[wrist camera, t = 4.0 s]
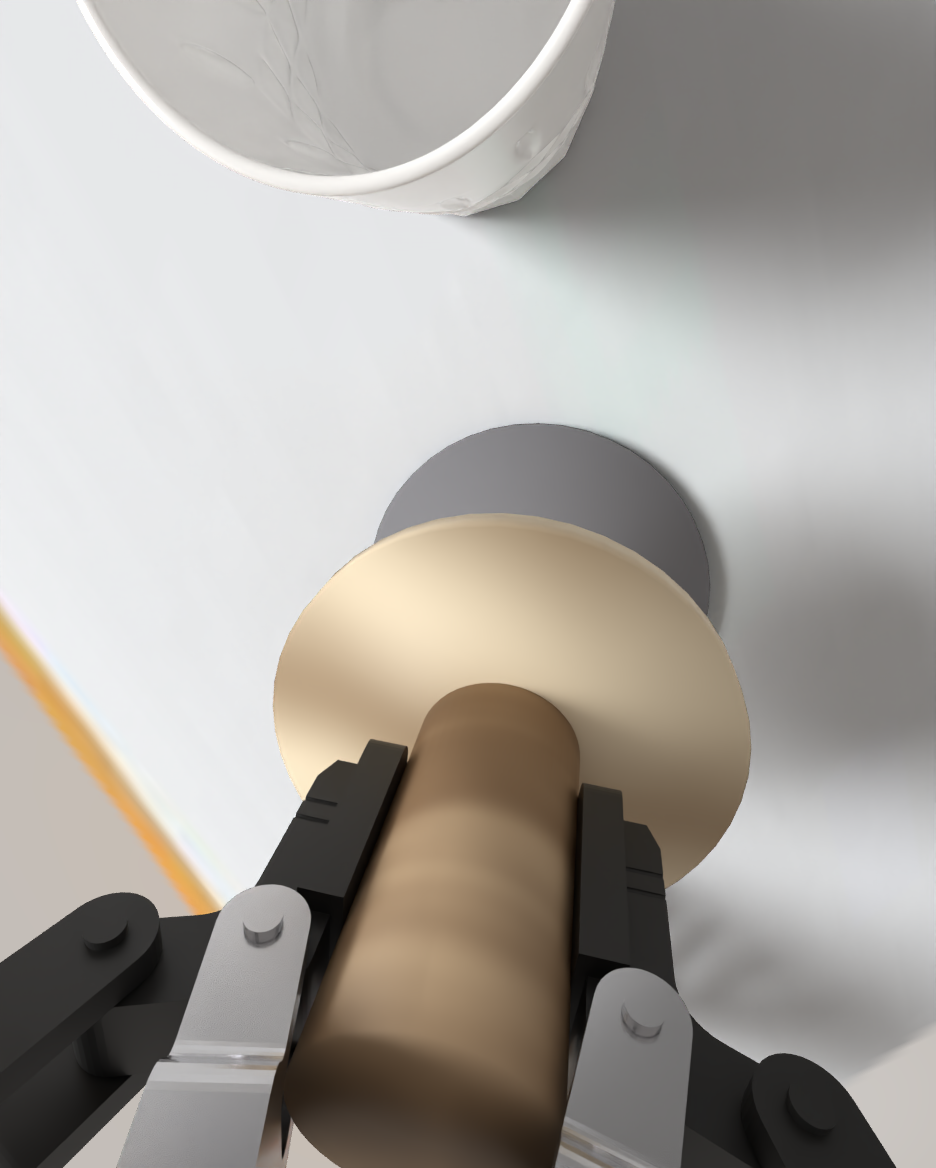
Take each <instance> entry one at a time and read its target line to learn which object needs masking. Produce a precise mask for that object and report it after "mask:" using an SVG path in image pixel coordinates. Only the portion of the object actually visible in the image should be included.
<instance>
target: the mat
mask: <svg viewBox="0 0 936 1168" xmlns="http://www.w3.org/2000/svg"><path fill="white" fill-rule="evenodd" d="M486 513H508V514H518V515H528V516H538V517H542V518H547V519H551V520H556V521H560V522H564V523H569V524H573V525H575V526H578V527H581V528H584V529H586V530H589V531H592V532H595V533H597V534H600V535H603V536H605V537H607V538H609V539H611V540H613V541H615V542H617V543H619V544H621V545H623V546H625V547H627V548H629V549H631V550H633V551H635V552H636V553H638V554H639V555H641V556H642V557H643V558H645V559H646V560H648V561H649V562H651V563H652V564H654V565H655V566H657V567H658V568H659V569H661V570H662V571H664V572H665V573H666V574H667V575H668V576H669V577H670V578H671V579H672V580H674V581H675V582H676V583H677V584H678V585H679V586H680V587H681V588H682V589H683V590H685V591H686V592H687V593H688V594H689V596H690V597H691V598H692V599H693V600H694V602H695V603H696V604H697V605H698V606H699V608H700V609H701V610H702V611H703V612H704V614H705V615H706V616H707V612H708V607H709V592H710V581H709V569H708V562H707V557H706V553H705V549H704V545H703V542H702V539H701V537H700V534H699V532H698V529H697V527H696V524H695V522H694V519H693V517H692V515H691V514H690V512H689V510H688V509H687V507H686V505H685V504H684V502H683V500H682V498H681V497H680V496H679V495H678V493H677V492H676V491H675V490H674V488H673V487H672V486H671V485H670V483H669V482H668V481H667V480H666V479H665V478H664V477H663V476H662V475H661V474H660V473H659V472H658V471H657V470H656V469H655V468H654V467H653V466H651V465H650V464H649V463H648V462H646V461H645V460H644V459H642V458H641V457H639V456H638V455H637V454H635V453H634V452H632V451H631V450H629V449H627V448H625V447H623V446H622V445H620V444H618V443H616V442H614V441H612V440H610V439H608V438H605V437H602V436H600V435H597V434H594V433H591V432H589V431H586V430H581V429H576V428H572V427H567V426H563V425H552V424H540V423H536V424H515V425H509V426H504V427H498V428H493V429H489V430H486V431H483V432H480V433H477V434H474V435H471V436H468V437H466V438H464V439H462V440H460V441H458V442H456V443H454V444H452V445H450V446H448V447H446V448H445V449H443V450H442V451H440V452H439V453H437V454H436V455H434V456H433V457H431V458H430V459H429V460H428V461H427V462H426V463H424V464H423V465H422V466H421V467H420V468H419V469H418V470H417V471H416V472H414V473H413V474H412V475H411V477H410V478H409V479H408V480H407V481H406V482H405V484H404V485H403V486H402V487H401V488H400V490H399V491H398V492H397V494H396V495H395V497H394V498H393V500H392V502H391V503H390V505H389V506H388V508H387V510H386V512H385V514H384V517H383V519H382V521H381V523H380V526H379V528H378V531H377V535H376V539H375V542H374V544H375V543H376V542H378V541H379V540H381V539H384V538H386V537H388V536H390V535H393V534H395V533H397V532H399V531H401V530H404V529H406V528H408V527H412V526H415V525H419V524H422V523H426V522H429V521H432V520H436V519H440V518H447V517H453V516H460V515H466V514H486Z"/></svg>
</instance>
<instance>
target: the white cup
mask: <svg viewBox="0 0 936 1168" xmlns="http://www.w3.org/2000/svg"><path fill="white" fill-rule="evenodd" d="M76 1H77V3H78V6H79V7H80V9H81V11H82V13H83V15H84V17H85V19H86V21H87V23H88V24H89V26H90V28H91V30H92V31H93V33H94V35H95V37H96V38H97V40H98V42H99V43H100V45H101V46H102V48H103V49H104V51H105V53H106V54H107V56H108V57H109V59H110V60H111V61H112V63H113V64H114V66H115V67H116V69H117V70H118V71H119V73H120V74H121V75H122V77H123V78H124V79H125V81H126V82H127V83H128V84H129V86H130V87H131V88H132V89H133V90H134V92H135V93H136V94H137V95H138V96H139V97H140V99H141V100H142V101H143V102H144V103H145V104H146V105H147V106H148V107H149V108H150V109H151V110H152V111H153V112H154V113H155V114H156V115H157V116H158V117H159V118H160V119H161V120H162V121H163V122H164V123H165V124H166V125H167V126H168V127H169V128H170V129H171V130H173V131H174V132H175V133H176V134H177V135H179V136H180V137H181V138H182V139H183V140H185V141H186V142H187V143H189V144H190V145H191V146H193V147H194V148H195V149H197V150H198V151H200V152H201V153H203V154H204V155H206V156H207V157H209V158H210V159H212V160H214V161H215V162H217V163H219V164H220V165H222V166H224V167H226V168H228V169H230V170H232V171H234V172H236V173H238V174H240V175H242V176H244V177H247V178H249V179H251V180H254V181H257V182H259V183H262V184H265V185H268V186H271V187H275V188H278V189H282V190H286V191H291V192H296V193H302V194H307V195H313V196H318V197H323V198H328V199H333V200H339V201H345V202H350V203H355V204H360V205H363V206H367V207H371V208H376V209H381V210H388V211H398V212H410V213H419V214H429V215H441V214H454V215H458V216H468V215H471V214H475V213H478V212H481V211H485V210H488V209H491V208H495V207H498V206H501V205H505V204H508V203H511V202H515V201H518V200H519V199H521V198H522V197H523V196H524V195H525V194H526V193H527V192H528V191H529V190H530V189H531V188H532V187H533V186H534V185H535V184H536V183H538V182H539V181H540V180H541V179H542V178H543V177H544V176H545V175H546V174H547V173H548V172H549V171H550V170H551V169H552V168H553V167H554V166H556V165H557V164H558V163H559V162H560V161H561V160H562V159H563V158H564V157H565V156H566V153H567V151H568V149H569V147H570V144H571V142H572V140H573V138H574V135H575V133H576V131H577V128H578V126H579V124H580V122H581V119H582V117H583V115H584V113H585V110H586V108H587V106H588V104H589V101H590V99H591V97H592V95H593V92H594V89H595V82H596V78H597V75H598V72H599V69H600V65H601V62H602V58H603V55H604V51H605V46H606V41H607V36H608V32H609V28H610V24H611V19H612V15H613V10H614V5H615V0H76Z"/></svg>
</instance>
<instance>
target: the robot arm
mask: <svg viewBox="0 0 936 1168" xmlns="http://www.w3.org/2000/svg"><path fill="white" fill-rule="evenodd" d="M407 760H408V747H407V746H404V745H400V744H395V743H390V742H385V741H380V740H375V739H370V740H369V741H368V743H367V745H366V747H365V749H364V751H363V753H362V755H361V757H360V759H359V761H358V763H357V764H356V763H351V762H346V761H341V760H337V761H336V762H334V763H333V764H332V765H330V766H329V767H328V768H327V769H325V770H324V771H323V772H321V773H320V774H319V775H317V777H316V779H315V781H314V783H313V784H312V786H311V788H310V790H309V791H308V793H307V795H306V798H305V800H303V802H302V804H301V806H300V808H299V809H298V811H297V813H296V817H295V818H293V820H292V822H291V824H290V825H289V827H288V829H287V831H286V833H285V834H284V836H283V838H282V840H281V842H280V843H279V845H278V847H277V849H276V850H275V852H274V854H273V856H272V858H271V859H270V861H269V863H268V865H267V867H266V868H265V870H264V872H263V874H262V876H261V877H260V879H259V881H258V882H257V884H256V885H255V887H253V888H250V889H247V890H245V891H243V892H241V893H240V894H238V895H236V896H235V897H234V898H232V899H231V900H230V901H229V902H228V903H227V904H226V905H225V906H224V907H223V909H222V910H220V911H217V912H214V913H210V914H204V915H194V916H181V917H168V918H159V915H158V911H157V909H156V907H155V906H154V904H153V903H152V902H151V901H150V900H148V899H147V898H145V897H143V896H141V895H138V894H134V893H112V894H108V895H104V896H101V897H98V898H96V899H93V900H91V901H89V902H87V903H85V904H84V905H82V906H80V907H79V908H77V909H76V910H74V911H73V912H72V913H70V914H69V915H67V916H66V917H65V918H63V919H62V920H60V921H59V922H57V923H56V924H55V925H53V926H52V927H50V928H49V929H48V930H46V931H45V932H43V933H42V934H41V935H39V936H38V937H36V938H35V939H33V940H32V941H30V942H29V943H28V944H26V945H25V946H23V947H22V948H21V949H19V950H18V951H16V952H15V953H14V954H12V955H11V956H9V957H8V958H7V959H5V960H4V961H2V962H1V963H0V1168H63V1167H64V1166H65V1165H66V1164H67V1163H68V1162H69V1161H70V1160H71V1159H72V1158H73V1157H74V1156H75V1155H76V1154H77V1153H78V1152H79V1151H80V1150H81V1149H82V1148H83V1147H84V1146H85V1145H86V1144H87V1143H88V1142H89V1141H90V1140H91V1139H92V1138H93V1137H94V1136H95V1135H96V1134H97V1133H98V1132H99V1131H100V1130H101V1129H102V1128H103V1127H104V1126H105V1125H106V1124H107V1123H108V1122H109V1121H110V1120H111V1119H112V1118H113V1117H114V1116H115V1115H116V1114H117V1113H118V1112H119V1111H120V1110H121V1109H122V1108H123V1107H124V1106H125V1105H126V1104H127V1103H128V1102H129V1101H130V1100H131V1099H132V1098H133V1097H134V1096H135V1095H136V1094H137V1093H138V1092H139V1091H140V1090H141V1089H142V1088H143V1087H144V1086H145V1085H146V1086H145V1089H144V1092H143V1094H142V1097H141V1100H140V1102H139V1105H138V1108H137V1111H136V1114H135V1117H134V1119H133V1122H132V1125H131V1128H130V1131H129V1133H128V1136H127V1139H126V1142H125V1144H124V1147H123V1150H122V1153H121V1156H120V1158H119V1161H118V1164H117V1167H116V1168H286V1164H287V1158H288V1152H289V1146H290V1140H291V1135H292V1129H293V1124H294V1122H293V1120H292V1118H291V1116H290V1114H289V1112H288V1109H287V1106H286V1103H285V1100H284V1092H283V1088H284V1081H285V1075H286V1071H287V1068H288V1066H289V1063H290V1061H291V1058H292V1056H293V1053H294V1051H295V1048H296V1045H297V1043H298V1040H299V1038H300V1035H301V1033H302V1030H303V1028H304V1025H305V1022H306V1020H307V1017H308V1015H309V1012H310V1010H311V1007H312V1005H313V1002H314V1000H315V997H316V994H317V992H318V989H319V987H320V984H321V982H322V979H323V977H324V974H325V971H326V969H327V966H328V964H329V961H330V959H331V956H332V954H333V951H334V948H335V946H336V943H337V941H338V938H339V936H340V933H341V931H342V928H343V926H344V923H345V921H346V918H347V916H348V913H349V911H350V908H351V905H352V903H353V900H354V898H355V895H356V893H357V890H358V888H359V885H360V882H361V880H362V877H363V875H364V872H365V870H366V867H367V865H368V862H369V859H370V857H371V854H372V852H373V849H374V847H375V844H376V841H377V839H378V836H379V834H380V831H381V829H382V826H383V824H384V821H385V818H386V816H387V813H388V811H389V808H390V806H391V803H392V801H393V798H394V795H395V793H396V790H397V788H398V785H399V783H400V780H401V778H402V775H403V772H404V770H405V767H406V765H407ZM570 986H571V1007H570V1033H569V1059H568V1085H567V1104H566V1108H565V1112H564V1116H563V1121H562V1125H561V1129H560V1133H559V1137H558V1141H557V1145H556V1149H555V1153H554V1157H553V1161H552V1165H551V1168H896V1166H895V1165H894V1163H893V1162H892V1160H891V1159H890V1157H889V1155H888V1154H887V1152H886V1151H885V1149H884V1147H883V1146H882V1144H881V1143H880V1141H879V1140H878V1138H877V1136H876V1135H875V1133H874V1132H873V1130H872V1128H871V1127H870V1125H869V1124H868V1122H867V1121H866V1119H865V1117H864V1116H863V1114H862V1113H861V1111H860V1110H859V1108H858V1106H857V1105H856V1103H855V1102H854V1100H853V1099H852V1097H851V1096H850V1095H849V1093H848V1092H847V1091H846V1089H845V1088H844V1087H843V1086H842V1085H841V1084H840V1083H839V1082H838V1081H837V1080H836V1079H835V1078H834V1077H833V1076H832V1075H831V1074H830V1073H828V1072H827V1071H826V1070H824V1069H823V1068H822V1067H820V1066H819V1065H817V1064H815V1063H814V1062H812V1061H810V1060H808V1059H805V1058H803V1057H800V1056H797V1055H793V1054H785V1053H782V1054H774V1055H771V1056H768V1057H767V1058H765V1059H763V1060H762V1061H761V1062H760V1064H759V1063H757V1062H755V1061H754V1060H752V1059H750V1058H748V1057H747V1056H745V1055H743V1054H741V1053H740V1052H738V1051H736V1050H734V1049H733V1048H731V1047H729V1046H727V1045H726V1044H724V1043H722V1042H721V1041H719V1040H717V1039H716V1038H714V1037H713V1036H712V1035H710V1034H709V1033H708V1032H707V1031H705V1030H704V1029H703V1028H702V1027H701V1026H700V1025H699V1024H698V1023H697V1022H696V1021H695V1019H694V1018H693V1017H692V1016H691V1015H690V1013H689V1011H688V1009H687V1007H686V1005H685V1003H684V1002H683V1000H682V999H681V997H680V996H679V993H678V990H677V988H676V983H675V978H674V969H673V960H672V950H671V941H670V932H669V922H668V913H667V904H666V900H665V885H664V879H663V867H662V857H661V849H660V847H659V846H658V844H657V842H656V840H655V839H654V837H653V835H652V833H651V832H650V830H649V828H648V827H647V825H644V824H639V823H634V822H629V821H625V820H624V818H623V797H622V791H621V790H616V789H611V788H607V787H602V786H597V785H592V784H587V783H582V784H581V787H580V791H579V795H578V804H577V829H576V854H575V879H574V904H573V930H572V955H571V980H570Z"/></svg>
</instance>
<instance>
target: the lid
mask: <svg viewBox="0 0 936 1168" xmlns="http://www.w3.org/2000/svg"><path fill="white" fill-rule="evenodd" d="M273 712H274V723H275V732H276V736H277V740H278V744H279V749H280V753H281V756H282V759H283V761H284V764H285V766H286V769H287V772H288V774H289V777H290V779H291V781H292V782H293V784H294V786H295V788H296V790H297V792H298V794H299V795H300V797H301V799H302V801H303V800H305V798H306V795H307V793H308V791H309V790H310V788H311V786H312V784H313V783H314V781H315V779H316V777H317V775H319V774H320V773H321V772H323V771H324V770H325V769H327V768H328V767H329V766H330V765H332V764H333V763H334V762H336V761H337V760H341V761H346V762H351V763H356V764H357V763H358V761H359V759H360V757H361V755H362V753H363V751H364V749H365V747H366V745H367V743H368V741H369V740H370V739H375V740H380V741H385V742H390V743H395V744H400V745H404V746H407V747H408V760H407V765H406V767H405V770H404V772H403V775H402V778H401V780H400V783H399V785H398V788H397V790H396V793H395V795H394V798H393V801H392V803H391V806H390V808H389V811H388V813H387V816H386V818H385V821H384V824H383V826H382V829H381V831H380V834H379V836H378V839H377V841H376V844H375V847H374V849H373V852H372V854H371V857H370V859H369V862H368V865H367V867H366V870H365V872H364V875H363V877H362V880H361V882H360V885H359V888H358V890H357V893H356V895H355V898H354V900H353V903H352V905H351V908H350V911H349V913H348V916H347V918H346V921H345V923H344V926H343V928H342V931H341V933H340V936H339V938H338V941H337V943H336V946H335V948H334V951H333V954H332V956H331V959H330V961H329V964H328V966H327V969H326V971H325V974H324V977H323V979H322V982H321V984H320V987H319V989H318V992H317V994H316V997H315V1000H314V1002H313V1005H312V1007H311V1010H310V1012H309V1015H308V1017H307V1020H306V1022H305V1025H304V1028H303V1030H302V1033H301V1035H300V1038H299V1040H298V1043H297V1045H296V1048H295V1051H294V1053H293V1056H292V1058H291V1061H290V1063H289V1066H288V1068H287V1071H286V1075H285V1081H284V1088H283V1092H284V1100H285V1103H286V1106H287V1109H288V1112H289V1114H290V1116H291V1118H292V1120H293V1122H294V1123H295V1125H296V1126H297V1127H298V1129H299V1130H300V1132H301V1133H302V1134H303V1135H304V1136H305V1138H306V1139H307V1140H308V1141H309V1142H310V1143H311V1144H312V1145H313V1146H314V1147H315V1148H316V1149H317V1150H318V1151H319V1152H320V1153H322V1154H323V1155H324V1156H325V1157H327V1158H328V1159H329V1160H330V1161H332V1162H333V1163H335V1164H336V1165H338V1166H339V1167H341V1168H551V1165H552V1161H553V1157H554V1153H555V1149H556V1145H557V1141H558V1137H559V1133H560V1129H561V1125H562V1121H563V1116H564V1112H565V1108H566V1104H567V1085H568V1059H569V1033H570V1007H571V986H570V980H571V955H572V930H573V904H574V879H575V854H576V829H577V804H578V795H579V791H580V787H581V784H582V783H587V784H592V785H597V786H602V787H607V788H611V789H616V790H621V791H622V797H623V818H624V820H625V821H629V822H634V823H639V824H644V825H647V827H648V828H649V830H650V832H651V833H652V835H653V837H654V839H655V840H656V842H657V844H658V846H659V847H660V849H661V857H662V867H663V879H664V885H665V889H666V888H668V887H669V886H671V885H673V884H674V883H676V882H678V881H679V880H680V879H681V878H683V877H684V876H685V875H686V874H687V873H689V872H690V871H691V870H692V869H694V868H695V867H696V866H697V865H698V864H699V863H700V862H701V861H702V860H703V859H704V858H705V857H706V856H707V855H708V854H709V853H710V852H711V851H712V849H713V848H714V847H715V846H716V845H717V843H718V842H719V840H720V839H721V838H722V836H723V835H724V833H725V832H726V830H727V829H728V827H729V826H730V824H731V822H732V820H733V818H734V816H735V814H736V811H737V809H738V807H739V805H740V803H741V800H742V797H743V793H744V790H745V786H746V783H747V779H748V775H749V765H750V756H751V739H750V724H749V718H748V713H747V709H746V705H745V701H744V697H743V693H742V690H741V687H740V684H739V681H738V678H737V675H736V672H735V670H734V667H733V665H732V662H731V660H730V658H729V655H728V653H727V650H726V648H725V646H724V643H723V642H722V640H721V638H720V637H719V635H718V633H717V632H716V630H715V629H714V627H713V625H712V624H711V622H710V620H709V619H708V617H707V616H706V615H705V614H704V612H703V611H702V610H701V609H700V608H699V606H698V605H697V604H696V603H695V602H694V600H693V599H692V598H691V597H690V596H689V594H688V593H687V592H686V591H685V590H683V589H682V588H681V587H680V586H679V585H678V584H677V583H676V582H675V581H674V580H672V579H671V578H670V577H669V576H668V575H667V574H666V573H665V572H664V571H662V570H661V569H659V568H658V567H657V566H655V565H654V564H652V563H651V562H649V561H648V560H646V559H645V558H643V557H642V556H641V555H639V554H638V553H636V552H635V551H633V550H631V549H629V548H627V547H625V546H623V545H621V544H619V543H617V542H615V541H613V540H611V539H609V538H607V537H605V536H603V535H600V534H597V533H595V532H592V531H589V530H586V529H584V528H581V527H578V526H575V525H573V524H569V523H564V522H560V521H556V520H551V519H547V518H542V517H538V516H528V515H518V514H508V513H486V514H466V515H460V516H453V517H447V518H440V519H436V520H432V521H429V522H426V523H422V524H419V525H415V526H412V527H408V528H406V529H404V530H401V531H399V532H397V533H395V534H393V535H390V536H388V537H386V538H384V539H381V540H379V541H378V542H376V543H375V544H373V545H372V546H370V547H368V548H367V549H365V550H364V551H362V552H361V553H359V554H357V555H356V556H355V557H353V558H352V559H351V560H350V561H349V562H348V563H347V564H345V565H344V566H343V567H342V568H341V569H340V570H339V571H337V572H336V573H335V574H334V575H333V576H332V577H331V579H330V580H329V581H328V582H327V583H326V584H325V585H324V587H323V588H322V589H321V590H320V591H319V592H318V594H317V595H316V596H315V597H314V598H313V599H312V601H311V602H310V603H309V604H308V605H307V607H306V608H305V609H304V610H303V611H302V613H301V615H300V616H299V618H298V620H297V621H296V623H295V625H294V626H293V628H292V630H291V631H290V633H289V635H288V638H287V640H286V643H285V646H284V648H283V651H282V653H281V656H280V659H279V663H278V668H277V672H276V677H275V681H274V698H273Z"/></svg>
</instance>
